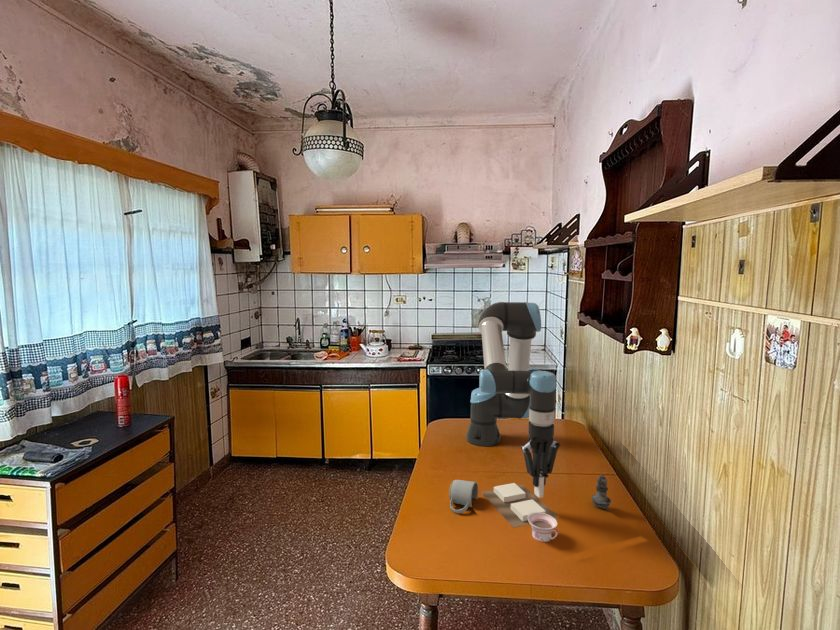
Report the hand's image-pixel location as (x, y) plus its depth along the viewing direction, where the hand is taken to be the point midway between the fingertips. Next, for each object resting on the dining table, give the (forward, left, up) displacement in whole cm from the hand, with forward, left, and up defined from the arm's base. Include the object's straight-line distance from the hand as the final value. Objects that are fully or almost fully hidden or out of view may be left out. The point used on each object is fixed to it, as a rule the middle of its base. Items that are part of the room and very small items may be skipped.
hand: (538, 495), depth 134 cm
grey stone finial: (+4, +21, -7) cm, 22 cm away
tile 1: (-11, 0, -4) cm, 12 cm away
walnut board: (-6, -4, -6) cm, 9 cm away
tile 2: (0, 0, -4) cm, 4 cm away
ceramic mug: (-12, -20, -7) cm, 25 cm away
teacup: (+11, -6, -7) cm, 14 cm away
